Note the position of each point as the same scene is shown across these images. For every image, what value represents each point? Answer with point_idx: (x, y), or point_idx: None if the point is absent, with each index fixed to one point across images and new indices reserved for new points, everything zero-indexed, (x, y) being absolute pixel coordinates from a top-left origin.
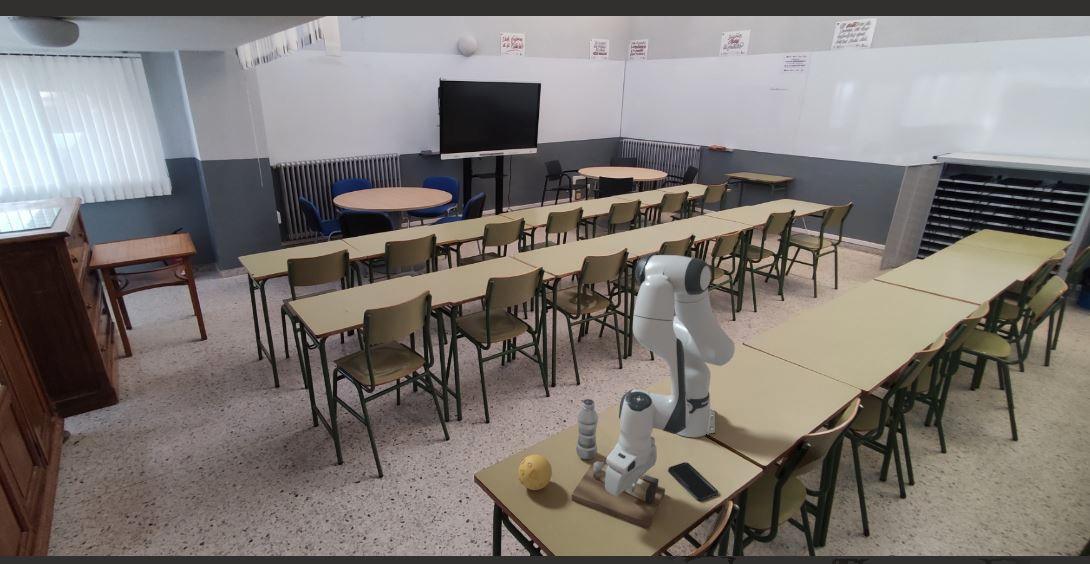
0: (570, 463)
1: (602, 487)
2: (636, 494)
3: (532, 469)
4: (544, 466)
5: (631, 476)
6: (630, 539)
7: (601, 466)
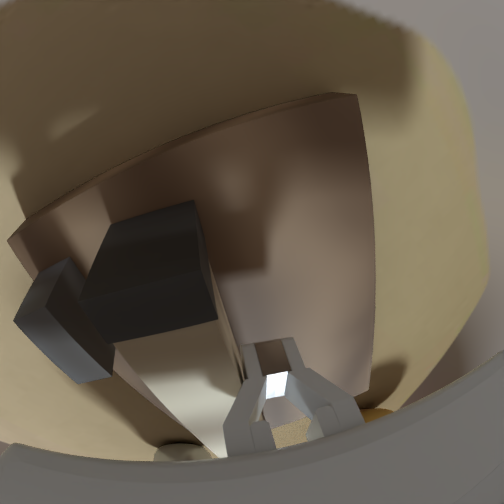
0: None
1: None
2: (223, 311)
3: None
4: None
5: (440, 486)
6: (426, 139)
7: None
